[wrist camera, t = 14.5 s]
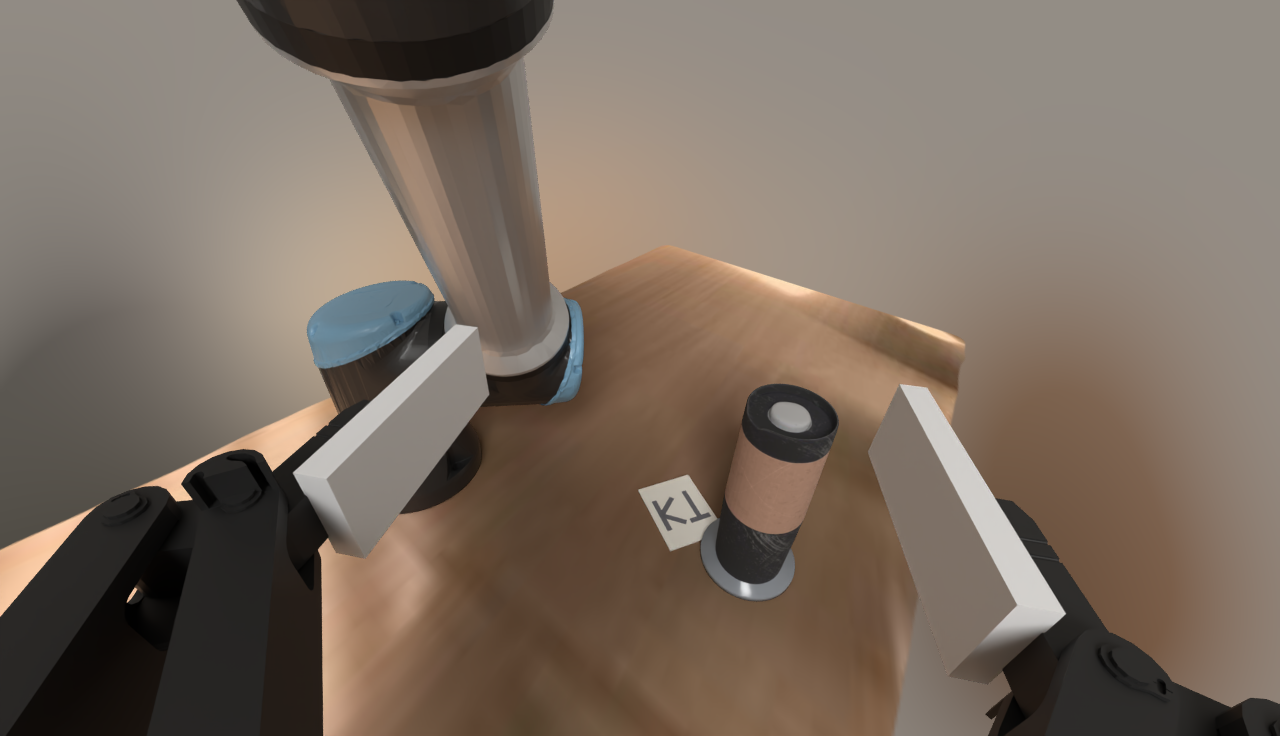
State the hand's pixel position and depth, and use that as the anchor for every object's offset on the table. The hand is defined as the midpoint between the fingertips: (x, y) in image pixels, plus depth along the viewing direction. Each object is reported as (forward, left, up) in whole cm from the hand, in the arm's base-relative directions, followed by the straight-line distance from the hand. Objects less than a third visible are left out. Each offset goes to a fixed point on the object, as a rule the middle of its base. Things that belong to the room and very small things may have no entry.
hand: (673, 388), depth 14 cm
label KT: (-19, +14, -35) cm, 42 cm away
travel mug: (-11, +18, -35) cm, 41 cm away
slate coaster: (-11, +18, -35) cm, 41 cm away
